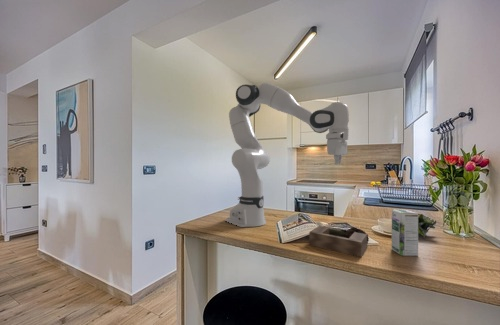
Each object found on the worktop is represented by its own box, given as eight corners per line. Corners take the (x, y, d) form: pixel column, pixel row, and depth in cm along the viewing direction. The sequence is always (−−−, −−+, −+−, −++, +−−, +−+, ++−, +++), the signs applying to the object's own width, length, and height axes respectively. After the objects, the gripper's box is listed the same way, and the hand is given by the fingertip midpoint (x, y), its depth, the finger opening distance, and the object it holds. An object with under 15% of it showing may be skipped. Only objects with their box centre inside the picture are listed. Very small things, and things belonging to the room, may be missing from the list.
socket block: (309, 245, 83) (309, 232, 83) (319, 237, 91) (319, 225, 91) (361, 257, 72) (361, 242, 72) (367, 247, 79) (367, 234, 79)
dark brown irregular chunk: (320, 237, 91) (320, 224, 91) (327, 234, 96) (326, 221, 96) (366, 248, 79) (366, 232, 80) (371, 243, 84) (371, 228, 84)
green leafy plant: (418, 245, 95) (434, 223, 95) (430, 250, 84) (449, 225, 84) (392, 228, 98) (408, 207, 98) (402, 231, 88) (419, 207, 88)
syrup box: (390, 249, 78) (390, 209, 78) (407, 249, 78) (407, 209, 78) (401, 256, 72) (400, 212, 72) (419, 256, 72) (419, 212, 72)
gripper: (338, 138, 116) (337, 164, 116) (324, 134, 100) (323, 164, 100) (351, 137, 112) (350, 164, 112) (338, 133, 96) (338, 165, 96)
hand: (337, 164), depth 106 cm, fingers closed
